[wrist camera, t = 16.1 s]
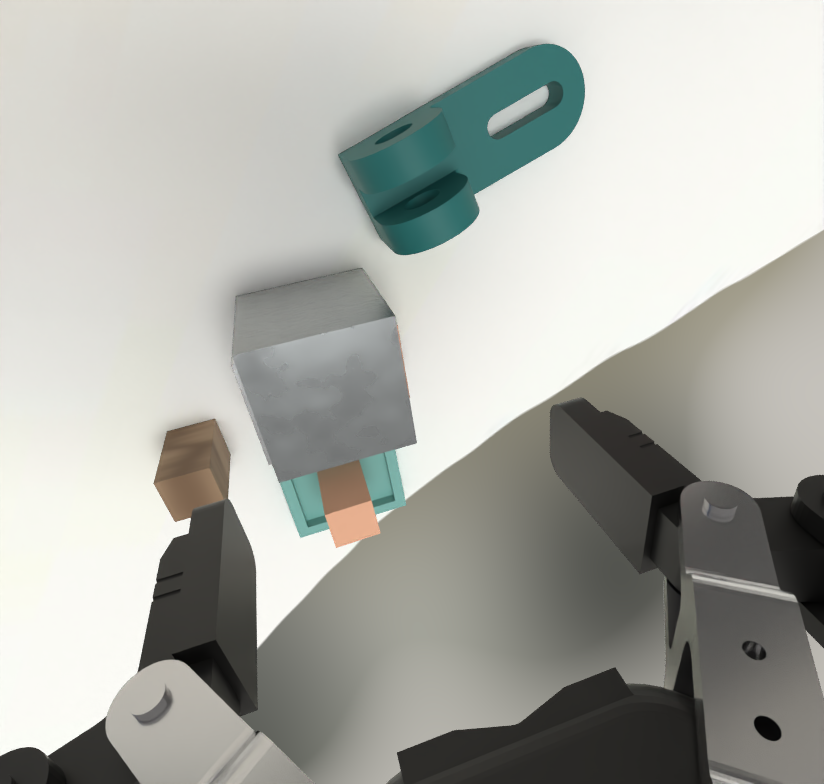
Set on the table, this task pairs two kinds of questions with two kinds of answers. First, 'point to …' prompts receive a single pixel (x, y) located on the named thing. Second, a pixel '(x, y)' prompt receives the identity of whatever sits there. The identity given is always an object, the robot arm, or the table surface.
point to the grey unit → (322, 373)
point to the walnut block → (193, 468)
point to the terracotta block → (347, 503)
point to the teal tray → (380, 484)
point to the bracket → (461, 148)
